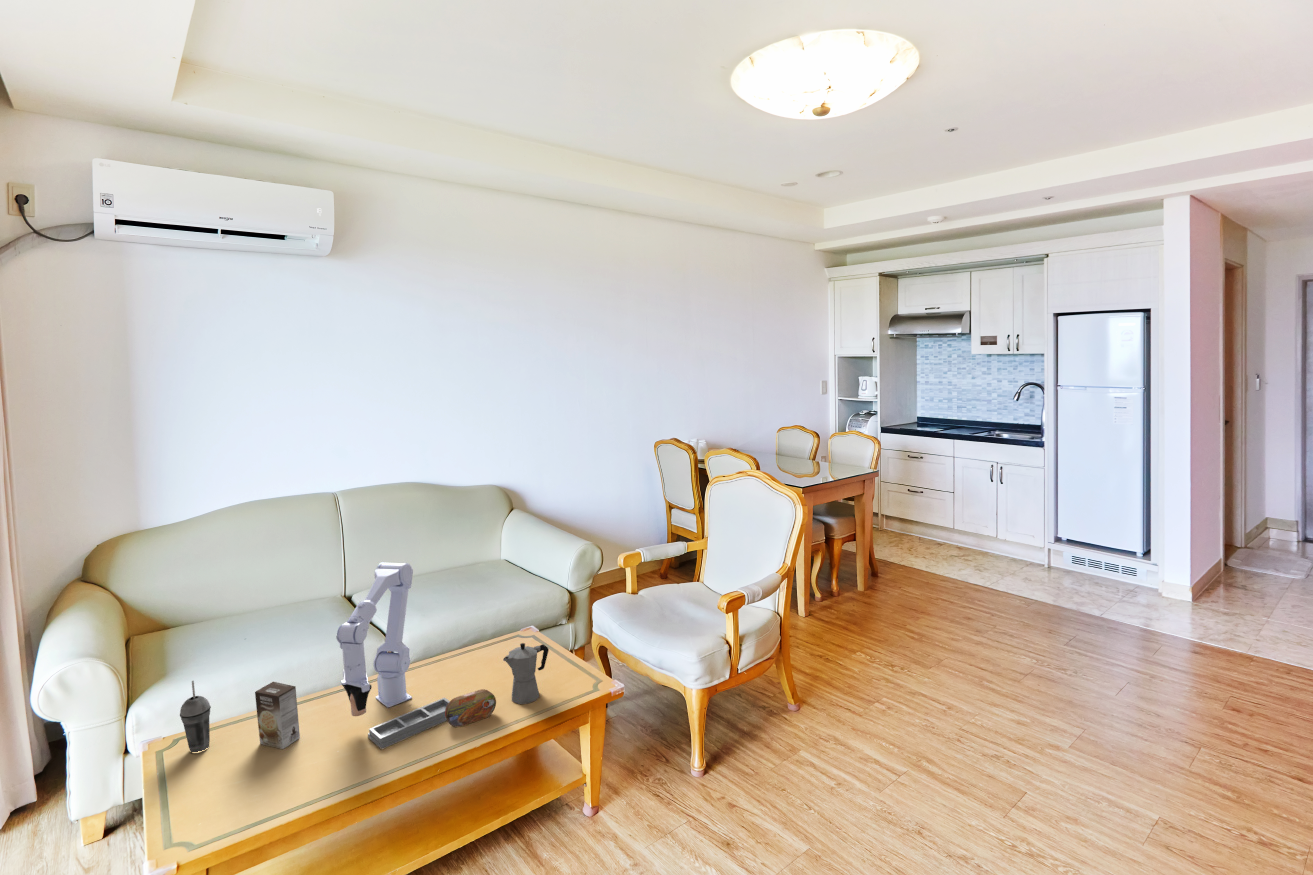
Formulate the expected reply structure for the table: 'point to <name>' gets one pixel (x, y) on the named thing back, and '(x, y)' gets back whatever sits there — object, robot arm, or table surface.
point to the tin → (470, 708)
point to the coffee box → (277, 715)
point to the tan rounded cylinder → (353, 708)
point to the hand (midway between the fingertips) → (358, 706)
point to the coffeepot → (525, 672)
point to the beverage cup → (196, 721)
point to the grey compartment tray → (408, 724)
